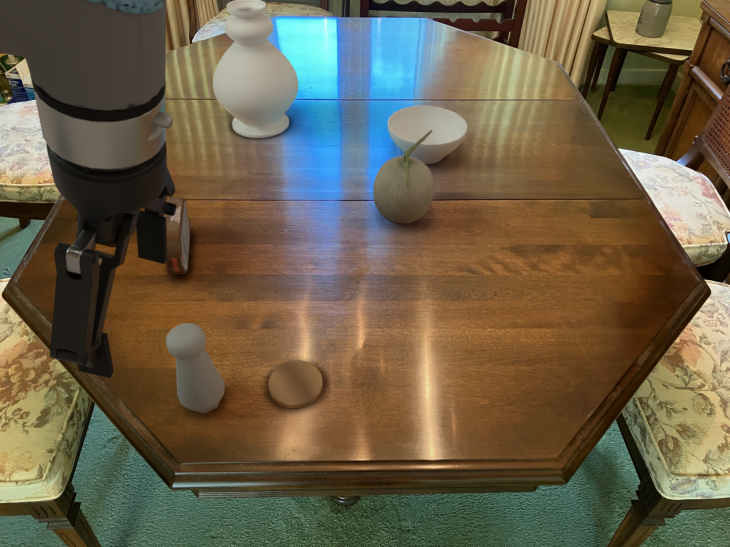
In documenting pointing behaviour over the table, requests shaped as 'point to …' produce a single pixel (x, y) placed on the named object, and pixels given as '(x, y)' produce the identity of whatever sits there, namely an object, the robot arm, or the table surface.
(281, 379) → the cork trivet
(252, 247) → the table surface
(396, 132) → the bowl
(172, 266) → the tin
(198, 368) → the salt shaker
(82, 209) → the robot arm
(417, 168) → the fruit
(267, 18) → the decorative vase
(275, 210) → the table surface
